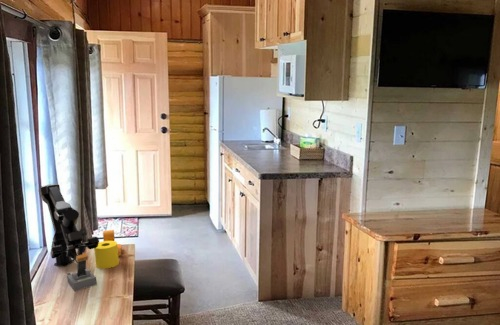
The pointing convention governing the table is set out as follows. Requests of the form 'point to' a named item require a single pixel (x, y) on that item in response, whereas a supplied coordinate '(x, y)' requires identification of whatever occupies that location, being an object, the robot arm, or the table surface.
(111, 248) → the tape roll
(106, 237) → the bracket
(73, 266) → the table surface
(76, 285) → the box
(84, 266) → the breaker lever
